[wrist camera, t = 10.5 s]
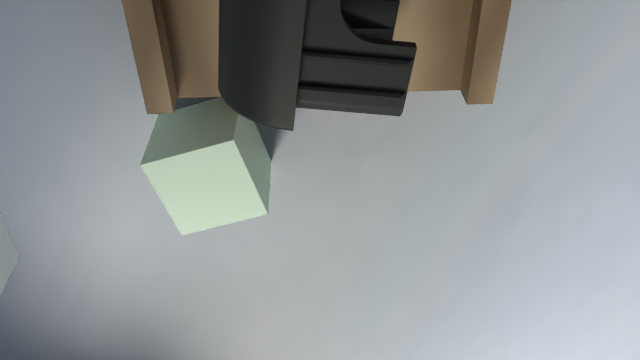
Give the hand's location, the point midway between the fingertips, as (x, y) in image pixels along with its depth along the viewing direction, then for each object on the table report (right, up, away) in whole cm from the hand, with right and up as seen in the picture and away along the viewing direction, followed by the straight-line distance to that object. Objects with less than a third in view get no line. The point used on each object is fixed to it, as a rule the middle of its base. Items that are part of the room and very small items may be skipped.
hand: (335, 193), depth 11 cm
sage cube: (-6, +3, +23) cm, 24 cm away
